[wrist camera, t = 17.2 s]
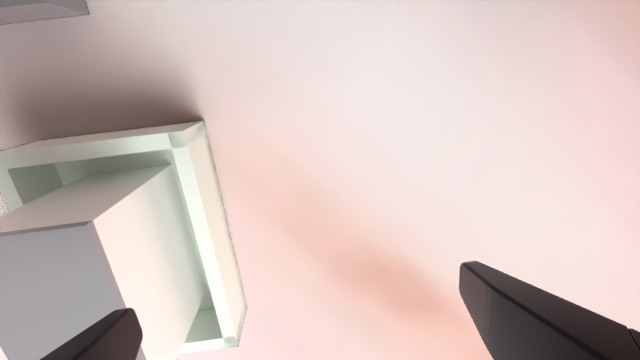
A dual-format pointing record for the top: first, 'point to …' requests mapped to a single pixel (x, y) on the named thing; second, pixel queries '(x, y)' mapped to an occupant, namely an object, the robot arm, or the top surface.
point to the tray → (195, 190)
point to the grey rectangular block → (99, 263)
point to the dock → (40, 10)
